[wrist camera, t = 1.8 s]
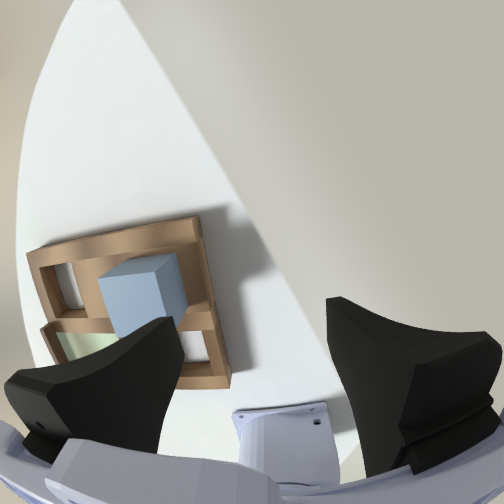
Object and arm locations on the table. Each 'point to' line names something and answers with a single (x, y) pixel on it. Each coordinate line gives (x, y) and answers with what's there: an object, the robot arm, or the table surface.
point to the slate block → (143, 292)
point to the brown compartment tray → (95, 313)
